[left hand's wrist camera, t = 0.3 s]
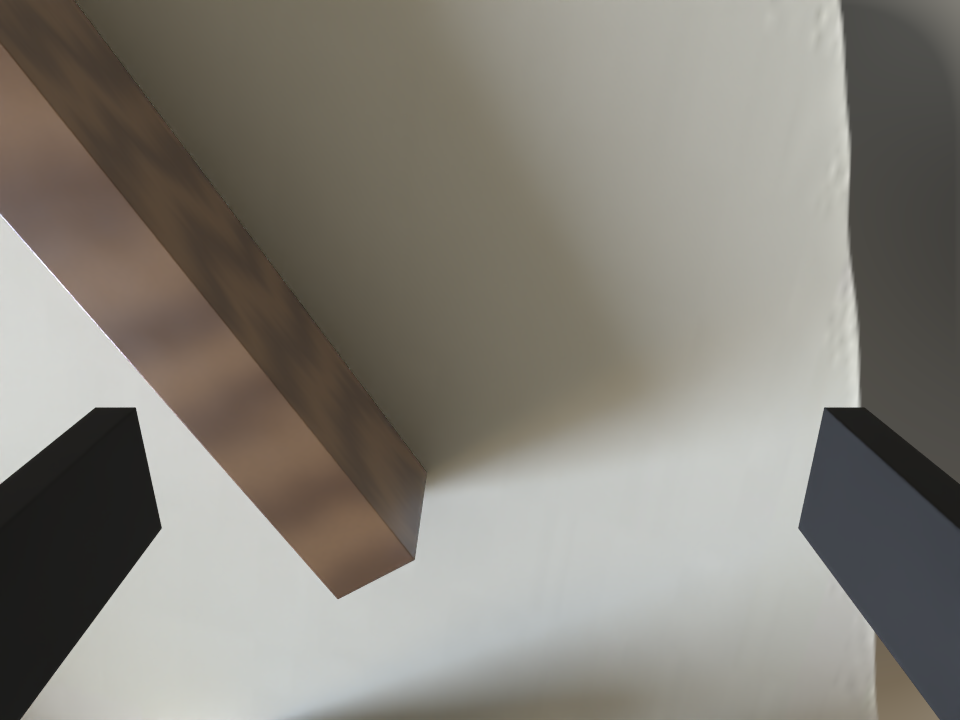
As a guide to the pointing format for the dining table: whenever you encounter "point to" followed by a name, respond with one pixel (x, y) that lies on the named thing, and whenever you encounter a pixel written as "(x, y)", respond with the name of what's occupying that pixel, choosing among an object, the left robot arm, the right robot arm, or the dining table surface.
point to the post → (195, 299)
